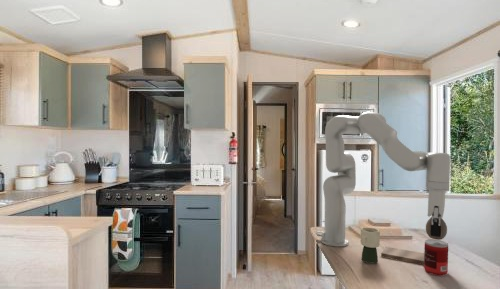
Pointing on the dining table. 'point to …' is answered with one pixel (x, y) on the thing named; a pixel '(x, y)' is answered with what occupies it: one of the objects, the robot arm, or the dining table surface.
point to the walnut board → (403, 255)
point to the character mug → (370, 244)
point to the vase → (443, 229)
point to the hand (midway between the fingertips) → (436, 233)
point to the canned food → (436, 257)
